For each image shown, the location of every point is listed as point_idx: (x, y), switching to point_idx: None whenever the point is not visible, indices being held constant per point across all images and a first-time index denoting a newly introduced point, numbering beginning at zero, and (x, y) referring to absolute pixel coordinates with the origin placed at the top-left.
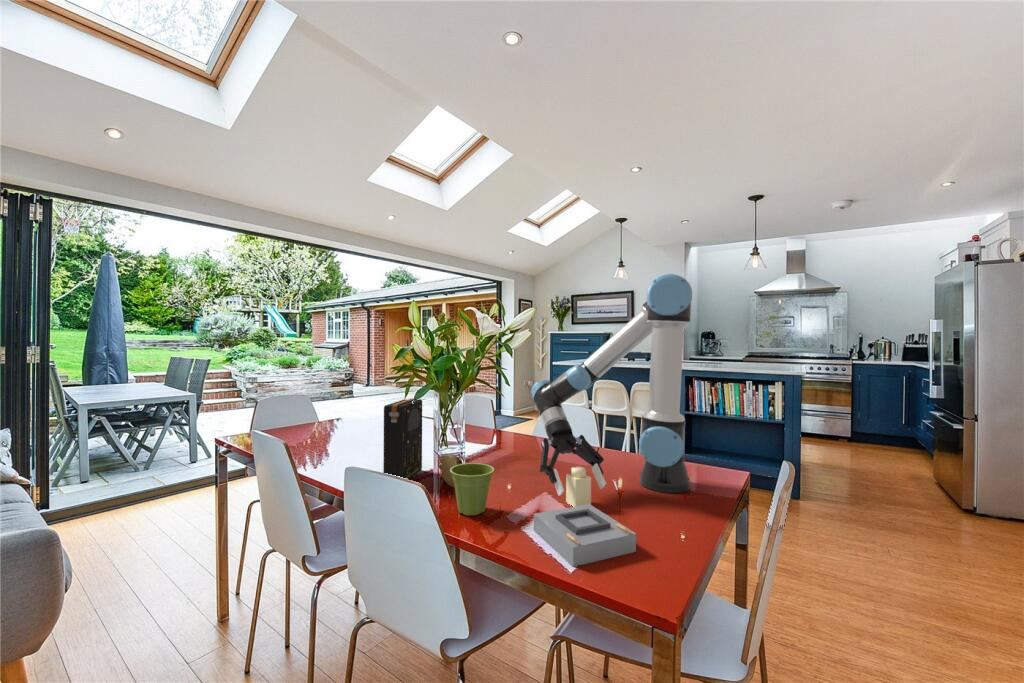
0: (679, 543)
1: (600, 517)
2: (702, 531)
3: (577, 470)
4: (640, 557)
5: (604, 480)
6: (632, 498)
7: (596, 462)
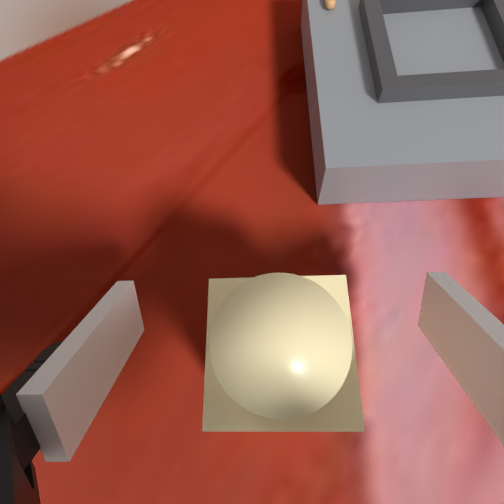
0: (169, 30)
1: (372, 25)
2: (59, 57)
3: (320, 292)
4: None
5: (108, 294)
6: (4, 324)
7: (7, 411)
